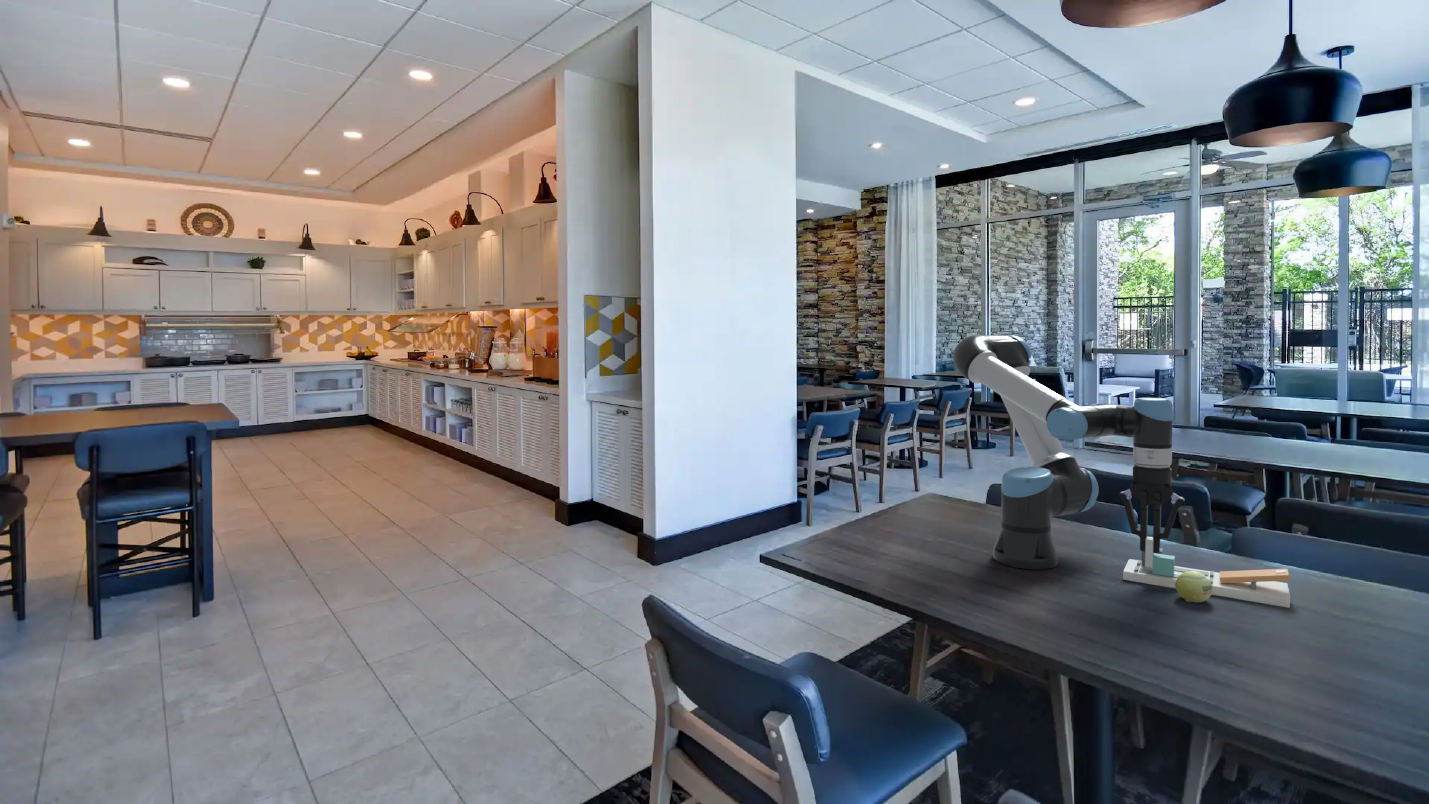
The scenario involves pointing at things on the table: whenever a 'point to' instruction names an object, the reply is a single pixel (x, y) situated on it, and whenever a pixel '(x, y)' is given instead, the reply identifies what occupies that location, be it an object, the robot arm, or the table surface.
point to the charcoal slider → (1144, 555)
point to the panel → (1214, 584)
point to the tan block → (1254, 575)
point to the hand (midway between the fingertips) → (1149, 565)
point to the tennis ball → (1193, 586)
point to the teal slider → (1163, 564)
